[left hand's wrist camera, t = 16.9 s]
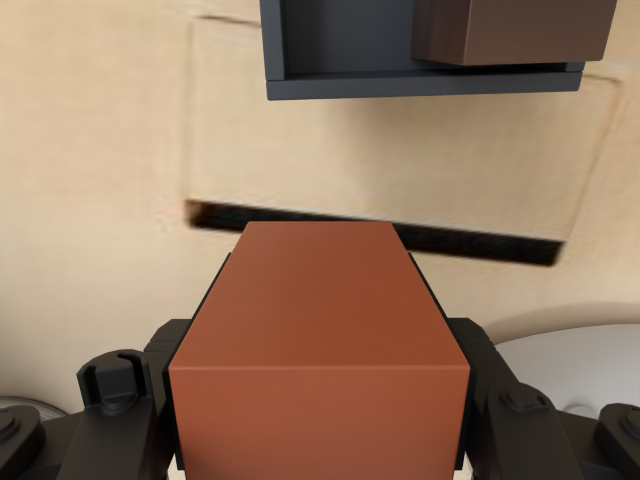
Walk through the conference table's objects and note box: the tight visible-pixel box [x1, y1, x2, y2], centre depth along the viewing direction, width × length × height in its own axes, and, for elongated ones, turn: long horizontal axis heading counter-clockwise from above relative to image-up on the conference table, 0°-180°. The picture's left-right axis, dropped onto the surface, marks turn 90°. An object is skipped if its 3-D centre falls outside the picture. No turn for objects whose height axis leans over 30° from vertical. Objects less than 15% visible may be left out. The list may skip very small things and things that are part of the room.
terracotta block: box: [169, 222, 470, 480], centre depth 11 cm, size 5×5×8 cm
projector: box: [465, 324, 640, 474], centre depth 32 cm, size 22×23×15 cm
